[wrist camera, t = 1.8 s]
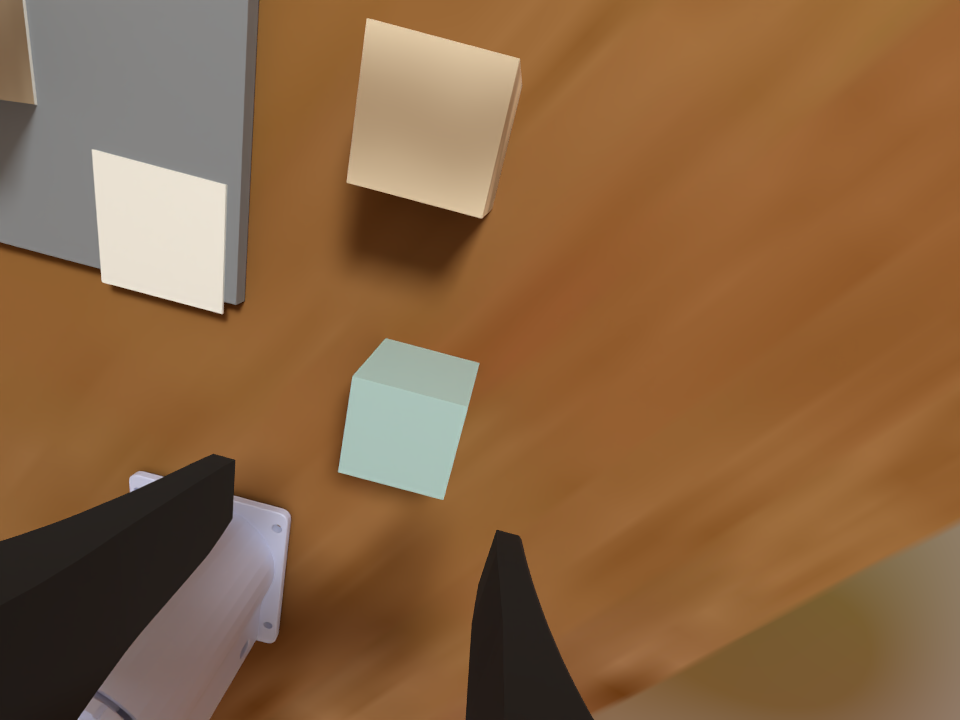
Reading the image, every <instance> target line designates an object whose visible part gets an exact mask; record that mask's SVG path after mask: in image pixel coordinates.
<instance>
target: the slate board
mask: <svg viewBox="0 0 960 720" xmlns="http://www.w3.org/2000/svg"><path fill="white" fill-rule="evenodd" d="M258 6H259V0H23V9H24V18H25V26H26V35H27V44H28V52H29V61H30V70H31V78H32V87H33V95H34V104H28V103H21V102H13V101H6V100H0V242H1V243H5V244H9V245H13V246H16V247H20V248H24V249H28V250H31V251H35V252H39V253H43V254H47V255H50V256H54V257H58V258H62V259H65V260H69V261H73V262H77V263H80V264H84V265H88V266H92V267H95V268H99V269H101V279H102V282H103V283H107V284H111V285H115V286H119V287H122V288H126V289H130V290H134V291H137V292H141V293H145V294H149V295H152V296H156V297H160V298H164V299H167V300H171V301H175V302H179V303H182V304H186V305H190V306H194V307H197V308H201V309H205V310H209V311H212V312H216V313H220V314H223V313H224V302H227V303H231V304H234V305H237V304H239V303H242V302H244V301H245V281H246V260H247V238H248V217H249V196H250V175H251V154H252V133H253V112H254V91H255V69H256V48H257V27H258Z"/></svg>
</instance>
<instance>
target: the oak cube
mask: <svg viewBox="0 0 960 720" xmlns="http://www.w3.org/2000/svg"><path fill="white" fill-rule="evenodd" d="M0 100H6V101H13V102H21V103H28V104H34V95H33V87H32V78H31V70H30V61H29V52H28V44H27V35H26V26H25V18H24V9H23V0H0Z"/></svg>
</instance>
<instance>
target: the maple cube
mask: <svg viewBox="0 0 960 720" xmlns="http://www.w3.org/2000/svg"><path fill="white" fill-rule="evenodd" d="M521 88H522V78H521V66H520V59H519V58H515V57H511V56H508V55H504V54H500V53H496V52H493V51H489V50H485V49H481V48H478V47H474V46H470V45H466V44H463V43H459V42H455V41H451V40H448V39H444V38H440V37H436V36H433V35H429V34H425V33H421V32H418V31H414V30H410V29H406V28H402V27H399V26H395V25H391V24H387V23H384V22H380V21H376V20H372V19H369V18H367V21H366V29H365V37H364V45H363V53H362V61H361V70H360V78H359V86H358V94H357V102H356V110H355V118H354V126H353V134H352V143H351V151H350V159H349V167H348V175H347V183H350V184H354V185H358V186H361V187H365V188H369V189H373V190H376V191H380V192H384V193H388V194H391V195H395V196H399V197H403V198H406V199H410V200H414V201H418V202H422V203H425V204H429V205H433V206H437V207H440V208H444V209H448V210H452V211H455V212H459V213H463V214H467V215H470V216H474V217H478V218H483V217H484V216H485V215H486V214H487V213H488V212H490V211H491V210H492V208H493V203H494V199H495V195H496V191H497V187H498V183H499V179H500V175H501V171H502V166H503V162H504V158H505V154H506V150H507V146H508V142H509V138H510V134H511V130H512V125H513V121H514V117H515V113H516V109H517V105H518V101H519V97H520V93H521Z"/></svg>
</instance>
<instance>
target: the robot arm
mask: <svg viewBox="0 0 960 720" xmlns="http://www.w3.org/2000/svg"><path fill="white" fill-rule="evenodd" d="M234 477H235V460H234V459H230V458H226V457H223V456H219V455H215V454H212V455H210V456H208V457H205V458H203V459H201V460H199V461H196V462H194V463H192V464H190V465H188V466H186V467H184V468H181V469H179V470H177V471H175V472H173V473H171V474H169V475H167V476H165V477H162V476H159V475H155V474H151V473H147V472H144V471H138V472H136V473H135V474H133V475H132V476H131V477H130V479H129V485H130V493H127V494H125V495H123V496H120V497H118V498H116V499H113V500H111V501H108V502H106V503H104V504H101V505H99V506H96V507H94V508H92V509H89V510H87V511H84V512H82V513H80V514H77V515H74V516H72V517H69V518H67V519H64V520H61V521H59V522H56V523H53V524H51V525H48V526H45V527H42V528H39V529H36V530H33V531H30V532H27V533H25V534H22V535H19V536H16V537H12V538H9V539H6V540H3V541H0V720H210V718H211V716H212V714H213V713H214V711H215V709H216V708H217V706H218V704H219V703H220V701H221V699H222V697H223V696H224V694H225V692H226V691H227V689H228V687H229V685H230V684H231V682H232V680H233V679H234V677H235V675H236V674H237V672H238V670H239V668H240V667H241V665H242V663H243V662H244V660H245V658H246V656H247V655H248V653H249V651H250V650H251V648H252V646H253V644H254V643H255V641H256V640H258V641H261V642H265V643H273V642H274V641H275V640H276V638H277V636H278V634H279V625H280V616H281V606H282V597H283V588H284V579H285V570H286V560H287V551H288V542H289V533H290V523H291V515H290V514H289V512H288V511H287V510H285V509H283V508H279V507H275V506H272V505H268V504H264V503H260V502H256V501H253V500H249V499H245V498H241V497H238V496H234ZM278 525H279V526H280V527H279V526H278ZM466 720H594V719H593V718H592V716H591V714H590V712H589V711H588V709H587V707H586V705H585V703H584V701H583V699H582V698H581V696H580V694H579V692H578V690H577V688H576V686H575V684H574V682H573V680H572V678H571V676H570V674H569V672H568V670H567V668H566V666H565V664H564V662H563V659H562V657H561V655H560V653H559V650H558V648H557V646H556V643H555V641H554V639H553V636H552V634H551V631H550V629H549V627H548V624H547V621H546V619H545V616H544V614H543V611H542V608H541V605H540V602H539V599H538V597H537V594H536V591H535V588H534V585H533V582H532V578H531V575H530V571H529V568H528V565H527V561H526V557H525V553H524V549H523V544H522V540H521V538H520V537H519V536H518V535H514V534H510V533H507V532H503V531H499V530H496V533H495V536H494V539H493V542H492V545H491V548H490V551H489V554H488V557H487V560H486V563H485V566H484V569H483V572H482V575H481V578H480V581H479V584H478V590H477V596H476V602H475V608H474V614H473V620H472V629H471V644H470V659H469V675H468V691H467V707H466Z"/></svg>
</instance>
